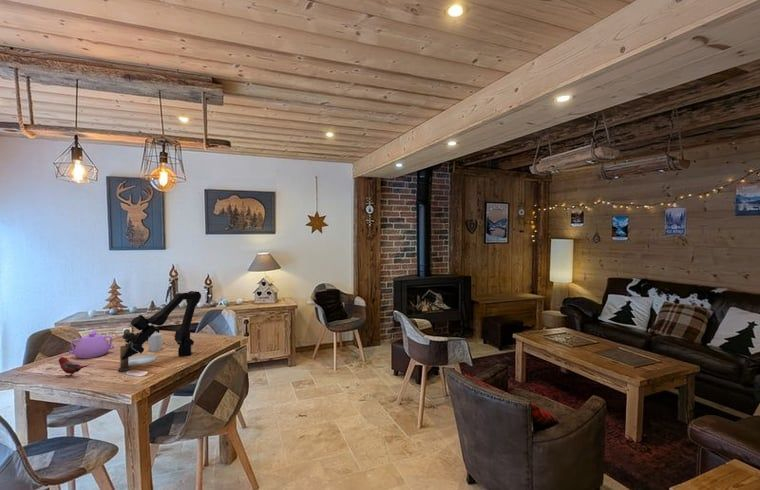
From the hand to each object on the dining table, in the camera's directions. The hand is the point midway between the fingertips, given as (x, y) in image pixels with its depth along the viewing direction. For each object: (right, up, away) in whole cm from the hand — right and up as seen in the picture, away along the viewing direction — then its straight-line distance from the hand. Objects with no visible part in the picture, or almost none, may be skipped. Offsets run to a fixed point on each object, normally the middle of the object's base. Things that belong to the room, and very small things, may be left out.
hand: (121, 358), depth 198 cm
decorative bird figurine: (-19, -7, -9) cm, 22 cm away
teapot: (-38, -6, +28) cm, 48 cm away
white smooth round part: (-1, -6, +16) cm, 17 cm away
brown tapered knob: (+1, -7, +1) cm, 7 cm away
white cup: (-5, -6, +38) cm, 39 cm away
